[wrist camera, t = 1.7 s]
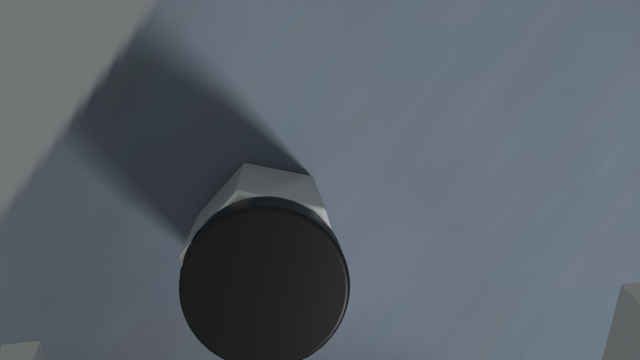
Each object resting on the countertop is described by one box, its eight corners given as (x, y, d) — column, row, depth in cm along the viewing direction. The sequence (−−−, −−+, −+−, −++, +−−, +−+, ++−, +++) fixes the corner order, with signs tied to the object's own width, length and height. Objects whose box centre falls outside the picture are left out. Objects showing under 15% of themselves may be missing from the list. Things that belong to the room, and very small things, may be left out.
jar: (184, 182, 40) (147, 231, 28) (303, 143, 40) (317, 175, 28) (230, 305, 41) (214, 400, 30) (344, 267, 42) (373, 346, 30)
